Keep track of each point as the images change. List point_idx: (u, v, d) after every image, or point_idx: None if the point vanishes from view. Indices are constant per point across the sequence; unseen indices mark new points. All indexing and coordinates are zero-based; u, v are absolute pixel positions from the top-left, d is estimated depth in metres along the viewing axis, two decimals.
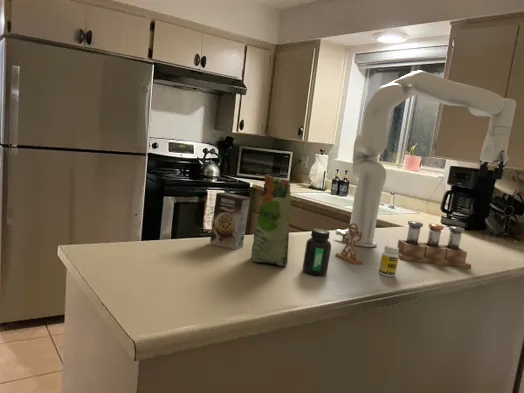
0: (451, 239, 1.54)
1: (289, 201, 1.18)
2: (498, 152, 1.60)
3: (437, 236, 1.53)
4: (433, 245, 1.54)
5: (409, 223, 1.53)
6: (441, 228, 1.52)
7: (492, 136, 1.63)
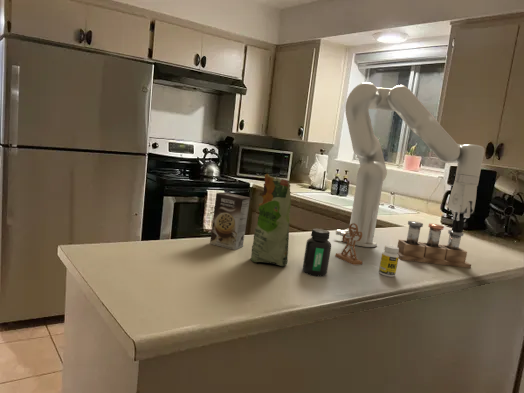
0: (451, 243, 1.55)
1: (289, 201, 1.18)
2: (465, 203, 1.49)
3: (437, 236, 1.53)
4: (433, 245, 1.54)
5: (409, 223, 1.53)
6: (441, 228, 1.52)
7: (459, 185, 1.52)
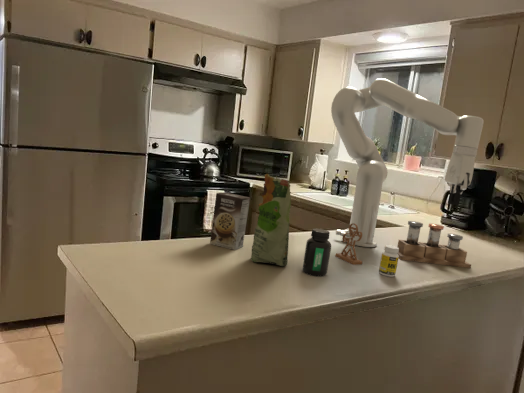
0: (450, 246, 1.55)
1: (289, 201, 1.18)
2: (463, 174, 1.47)
3: (437, 236, 1.53)
4: (433, 245, 1.54)
5: (409, 223, 1.53)
6: (441, 228, 1.52)
7: (457, 157, 1.50)
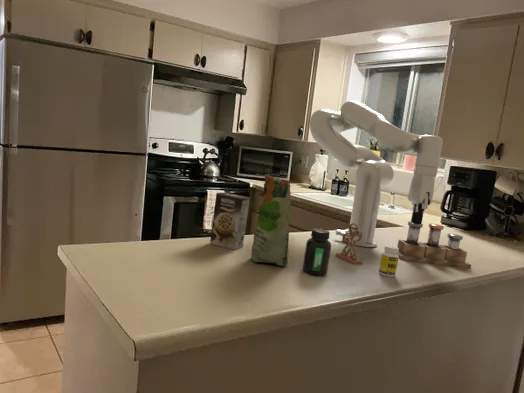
0: (450, 246, 1.55)
1: (289, 201, 1.18)
2: (423, 194, 1.47)
3: (437, 236, 1.53)
4: (433, 245, 1.54)
5: (409, 224, 1.53)
6: (441, 228, 1.52)
7: (418, 176, 1.51)
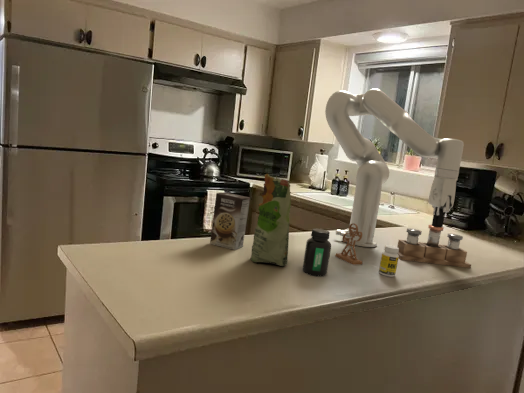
0: (450, 246, 1.55)
1: (289, 201, 1.18)
2: (445, 197, 1.48)
3: (437, 238, 1.53)
4: (433, 246, 1.54)
5: (408, 231, 1.54)
6: (441, 229, 1.52)
7: (439, 180, 1.51)
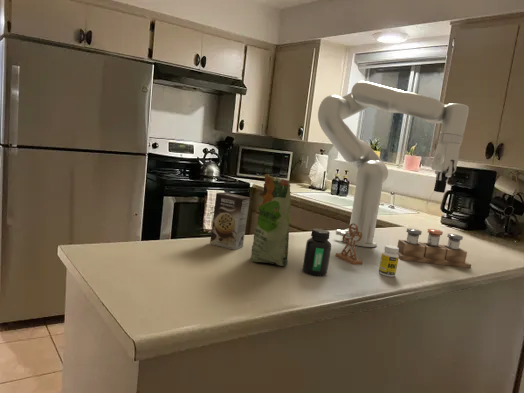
0: (450, 246, 1.55)
1: (289, 201, 1.18)
2: (447, 161, 1.48)
3: (436, 242, 1.53)
4: None
5: (408, 231, 1.54)
6: (440, 233, 1.53)
7: (442, 144, 1.51)
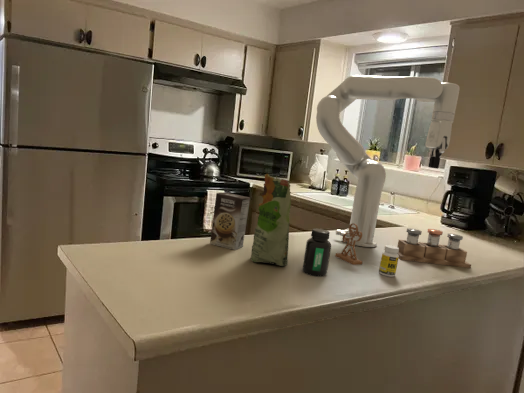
0: (450, 246, 1.55)
1: (289, 201, 1.18)
2: (441, 138, 1.56)
3: (436, 242, 1.53)
4: None
5: (408, 231, 1.54)
6: (440, 233, 1.53)
7: (435, 122, 1.59)
